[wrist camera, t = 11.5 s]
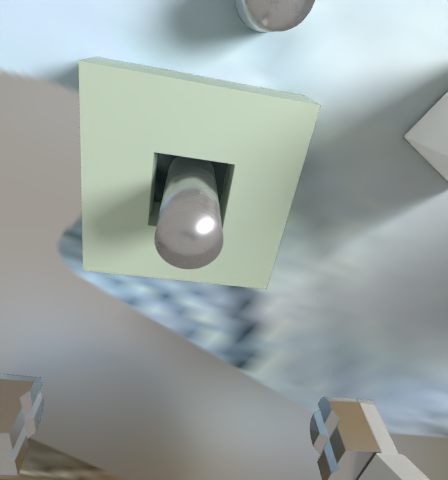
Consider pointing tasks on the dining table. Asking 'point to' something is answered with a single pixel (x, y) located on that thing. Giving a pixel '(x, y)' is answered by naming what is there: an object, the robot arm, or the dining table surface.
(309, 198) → the dining table surface
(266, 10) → the short pin
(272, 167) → the socket block
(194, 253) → the tall pin
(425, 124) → the milk carton
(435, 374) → the dining table surface
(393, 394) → the dining table surface
